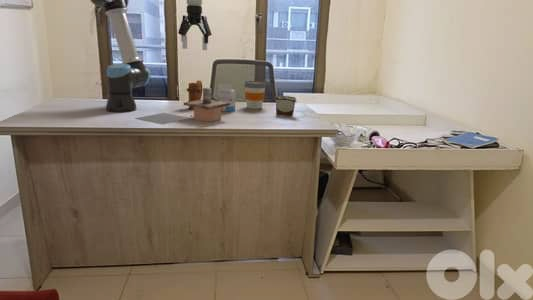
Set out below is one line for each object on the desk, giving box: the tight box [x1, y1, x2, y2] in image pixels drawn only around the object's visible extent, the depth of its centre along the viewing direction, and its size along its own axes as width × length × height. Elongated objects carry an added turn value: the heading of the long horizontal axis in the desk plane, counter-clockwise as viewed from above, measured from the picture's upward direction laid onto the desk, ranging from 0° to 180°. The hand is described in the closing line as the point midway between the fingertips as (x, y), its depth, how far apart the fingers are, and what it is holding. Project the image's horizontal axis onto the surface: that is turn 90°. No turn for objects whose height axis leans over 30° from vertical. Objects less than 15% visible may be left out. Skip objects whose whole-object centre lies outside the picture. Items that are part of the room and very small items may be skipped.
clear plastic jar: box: [217, 83, 236, 113], centre depth 213 cm, size 9×5×15 cm, turn 68°
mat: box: [133, 112, 191, 126], centre depth 186 cm, size 19×19×1 cm
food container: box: [274, 95, 297, 117], centre depth 209 cm, size 12×6×10 cm, turn 65°
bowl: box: [193, 107, 222, 122], centre depth 190 cm, size 13×13×7 cm
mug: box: [186, 80, 203, 110], centre depth 216 cm, size 15×8×15 cm, turn 168°
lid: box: [183, 87, 230, 109], centre depth 188 cm, size 16×16×8 cm
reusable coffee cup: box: [243, 80, 267, 110], centre depth 226 cm, size 12×13×15 cm
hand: (194, 49), depth 197 cm, fingers open, 13 cm apart
